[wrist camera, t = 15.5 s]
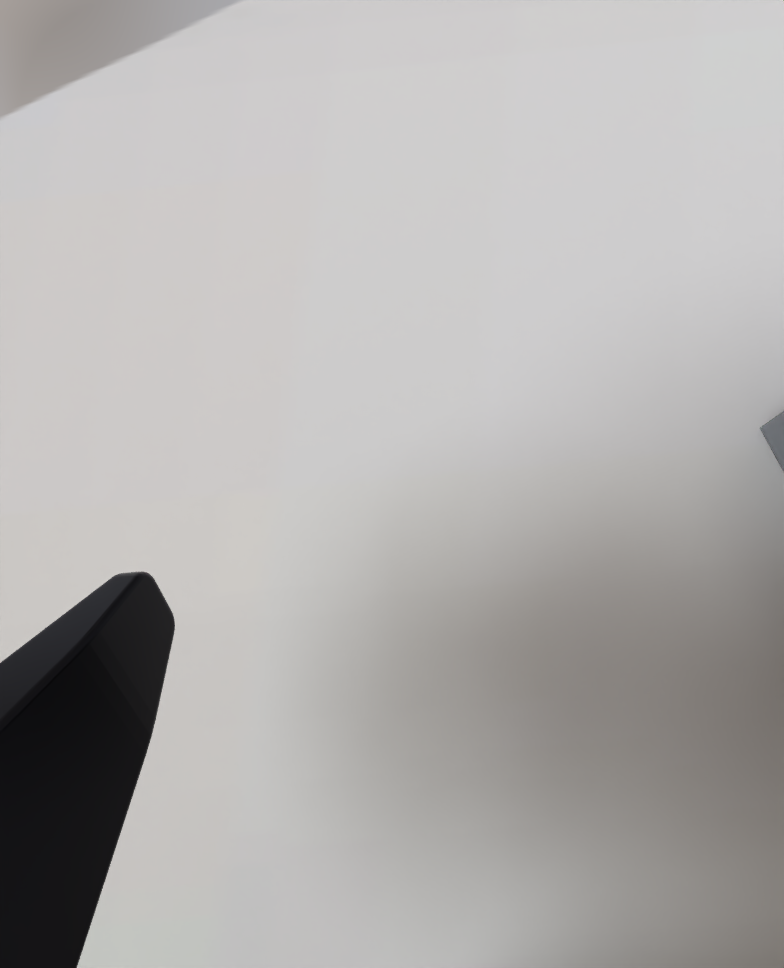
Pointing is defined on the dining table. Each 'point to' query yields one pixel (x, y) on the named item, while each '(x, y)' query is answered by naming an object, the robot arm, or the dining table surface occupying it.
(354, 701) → the dining table surface
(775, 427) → the tray
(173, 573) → the dining table surface
